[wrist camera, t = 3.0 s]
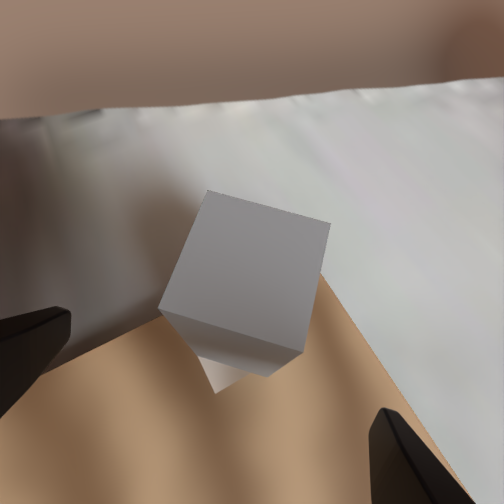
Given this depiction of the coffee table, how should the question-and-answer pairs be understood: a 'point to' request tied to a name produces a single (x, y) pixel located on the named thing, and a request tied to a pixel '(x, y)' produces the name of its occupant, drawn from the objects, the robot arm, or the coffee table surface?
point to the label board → (203, 423)
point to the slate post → (246, 283)
